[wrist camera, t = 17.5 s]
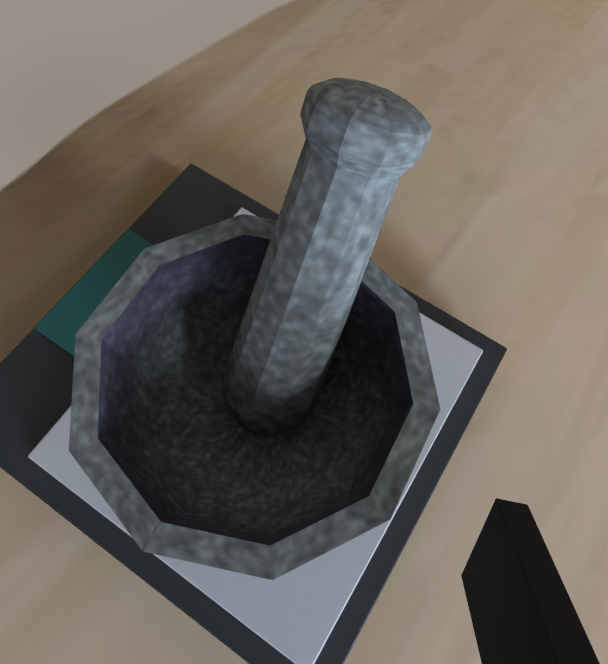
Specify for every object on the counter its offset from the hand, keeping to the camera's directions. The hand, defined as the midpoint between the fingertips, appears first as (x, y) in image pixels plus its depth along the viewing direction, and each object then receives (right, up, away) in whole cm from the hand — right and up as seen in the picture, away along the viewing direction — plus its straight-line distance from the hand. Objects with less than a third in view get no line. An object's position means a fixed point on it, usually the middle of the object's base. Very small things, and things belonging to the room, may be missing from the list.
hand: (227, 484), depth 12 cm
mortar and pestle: (+1, +1, +7) cm, 7 cm away
